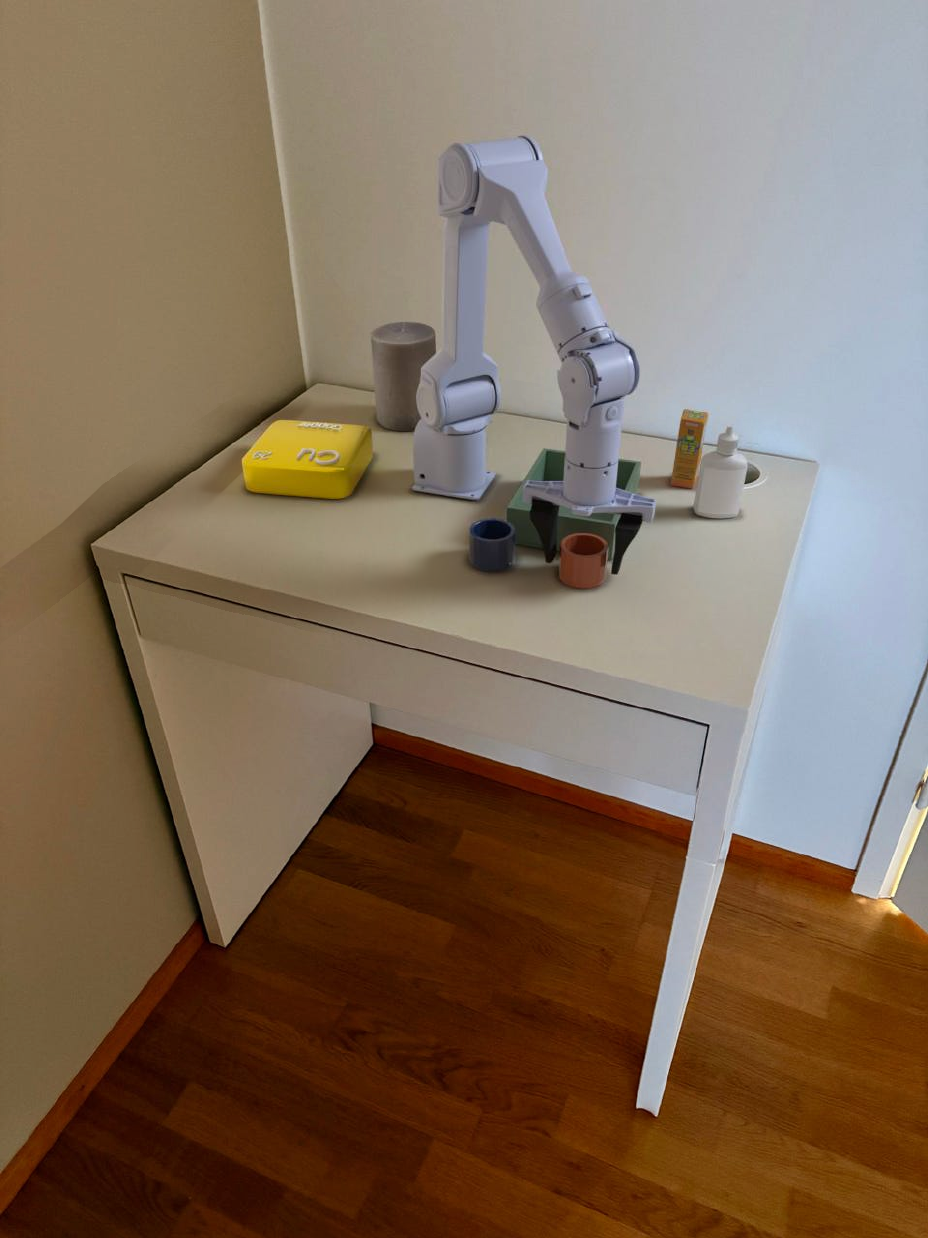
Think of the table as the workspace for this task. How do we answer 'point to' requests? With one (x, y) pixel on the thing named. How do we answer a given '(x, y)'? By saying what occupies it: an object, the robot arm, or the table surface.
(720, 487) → the eye dropper bottle
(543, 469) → the sage tub
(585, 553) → the terracotta cup
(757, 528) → the table surface
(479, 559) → the navy cup
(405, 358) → the pillar candle
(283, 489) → the element tile
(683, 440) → the supplement box
